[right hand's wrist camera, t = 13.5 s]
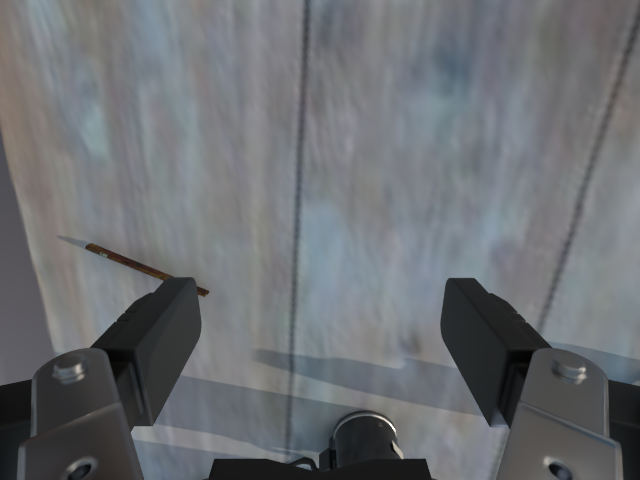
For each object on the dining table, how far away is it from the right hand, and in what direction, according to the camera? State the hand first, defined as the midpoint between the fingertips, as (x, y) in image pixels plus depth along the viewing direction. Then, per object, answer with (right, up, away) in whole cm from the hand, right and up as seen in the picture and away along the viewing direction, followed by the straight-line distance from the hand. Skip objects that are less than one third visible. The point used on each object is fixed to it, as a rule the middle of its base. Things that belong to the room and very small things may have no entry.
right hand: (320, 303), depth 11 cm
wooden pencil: (-21, -1, +32) cm, 38 cm away
